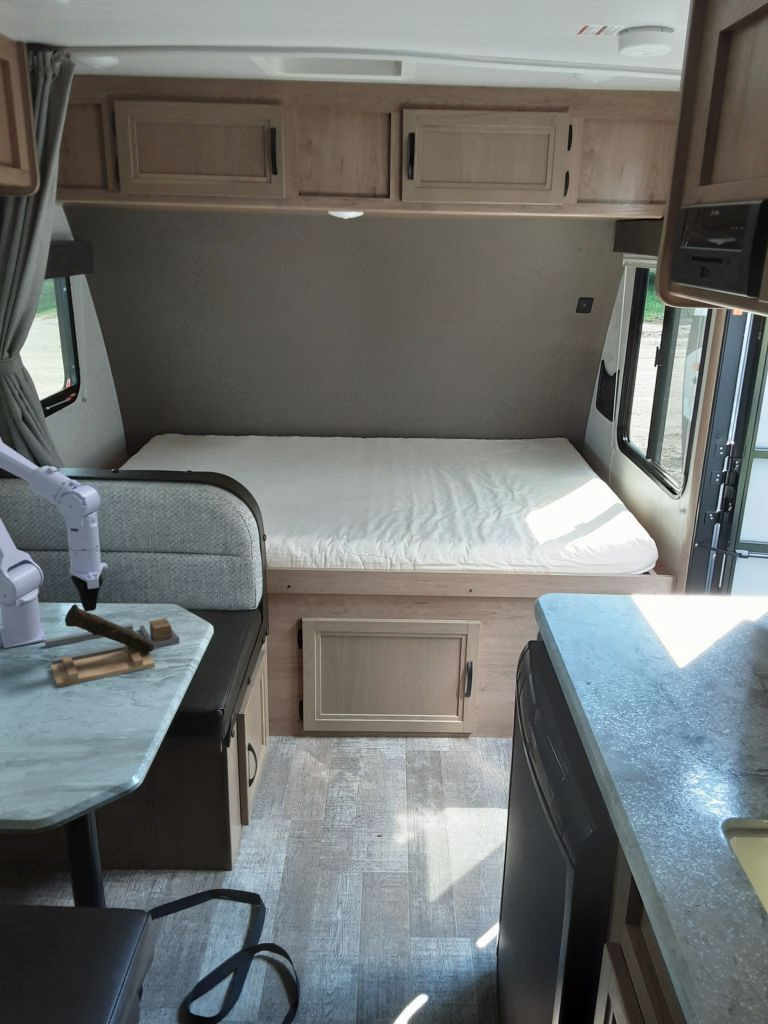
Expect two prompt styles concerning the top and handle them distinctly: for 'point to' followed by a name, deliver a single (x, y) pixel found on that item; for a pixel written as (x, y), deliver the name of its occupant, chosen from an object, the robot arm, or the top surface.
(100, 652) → the socket channel
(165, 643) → the key guide
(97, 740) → the top surface
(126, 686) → the top surface
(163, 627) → the key block
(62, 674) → the rack
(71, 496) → the robot arm
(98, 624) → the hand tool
